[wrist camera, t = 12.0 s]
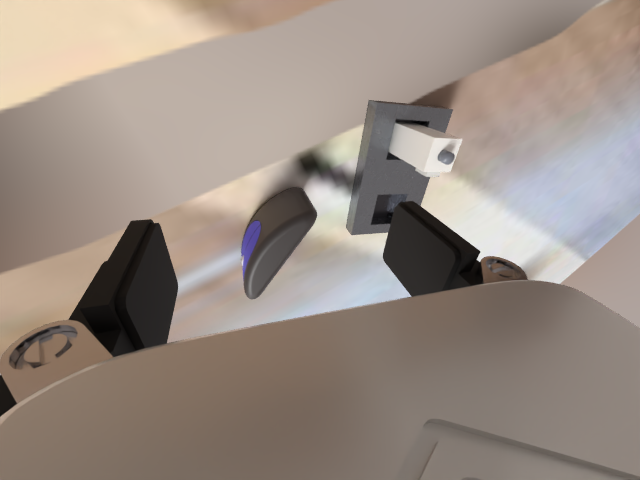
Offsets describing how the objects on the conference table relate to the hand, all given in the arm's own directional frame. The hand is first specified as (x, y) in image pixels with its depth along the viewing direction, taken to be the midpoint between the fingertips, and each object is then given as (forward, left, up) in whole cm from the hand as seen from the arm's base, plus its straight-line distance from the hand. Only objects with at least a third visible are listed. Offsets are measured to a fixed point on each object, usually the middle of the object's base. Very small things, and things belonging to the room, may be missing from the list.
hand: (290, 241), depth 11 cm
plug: (+1, +22, -28) cm, 35 cm away
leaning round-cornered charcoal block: (+16, +3, -28) cm, 32 cm away
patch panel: (+7, +22, -28) cm, 36 cm away
